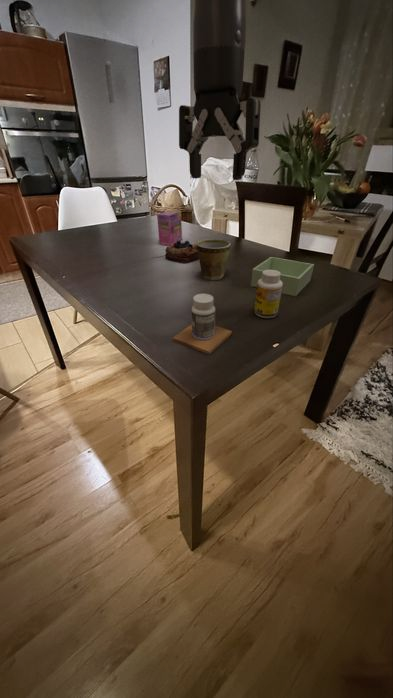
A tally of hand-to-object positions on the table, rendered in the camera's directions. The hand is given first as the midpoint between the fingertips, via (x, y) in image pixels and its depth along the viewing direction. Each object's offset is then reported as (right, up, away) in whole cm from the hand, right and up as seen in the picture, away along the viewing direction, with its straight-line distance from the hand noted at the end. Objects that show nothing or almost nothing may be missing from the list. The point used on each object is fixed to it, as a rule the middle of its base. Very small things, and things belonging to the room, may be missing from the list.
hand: (215, 178), depth 51 cm
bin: (+21, -11, +32) cm, 40 cm away
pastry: (-8, +3, +53) cm, 54 cm away
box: (-14, +15, +71) cm, 74 cm away
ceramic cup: (+1, -7, +39) cm, 40 cm away
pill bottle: (-2, -28, +9) cm, 29 cm away
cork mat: (-2, -28, +9) cm, 30 cm away
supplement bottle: (+13, -22, +17) cm, 31 cm away
